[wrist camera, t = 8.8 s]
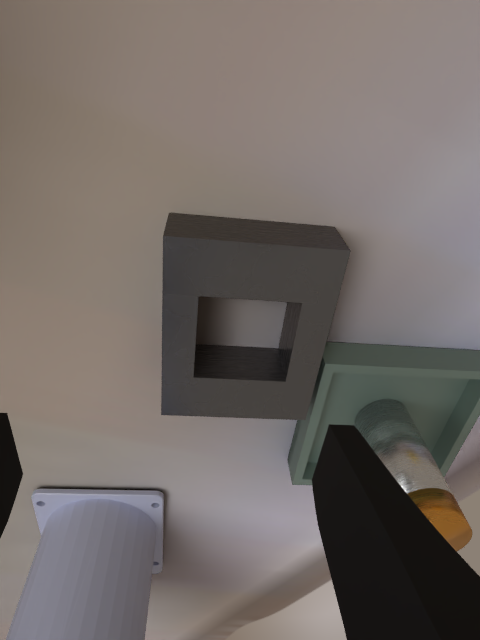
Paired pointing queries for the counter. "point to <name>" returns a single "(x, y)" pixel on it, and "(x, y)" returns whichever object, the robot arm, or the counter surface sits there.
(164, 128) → the counter surface
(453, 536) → the small bottle
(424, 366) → the tray
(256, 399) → the block
